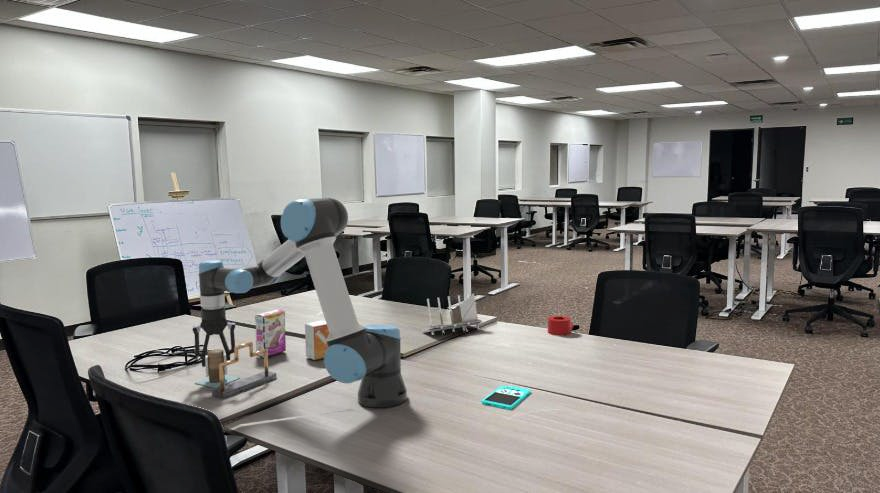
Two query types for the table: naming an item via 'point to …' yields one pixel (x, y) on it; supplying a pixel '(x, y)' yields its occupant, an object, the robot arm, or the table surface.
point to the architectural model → (457, 315)
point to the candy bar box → (270, 332)
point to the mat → (216, 385)
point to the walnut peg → (215, 364)
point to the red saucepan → (559, 325)
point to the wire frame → (247, 382)
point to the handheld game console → (506, 397)
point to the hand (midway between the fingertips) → (216, 374)
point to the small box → (316, 339)
